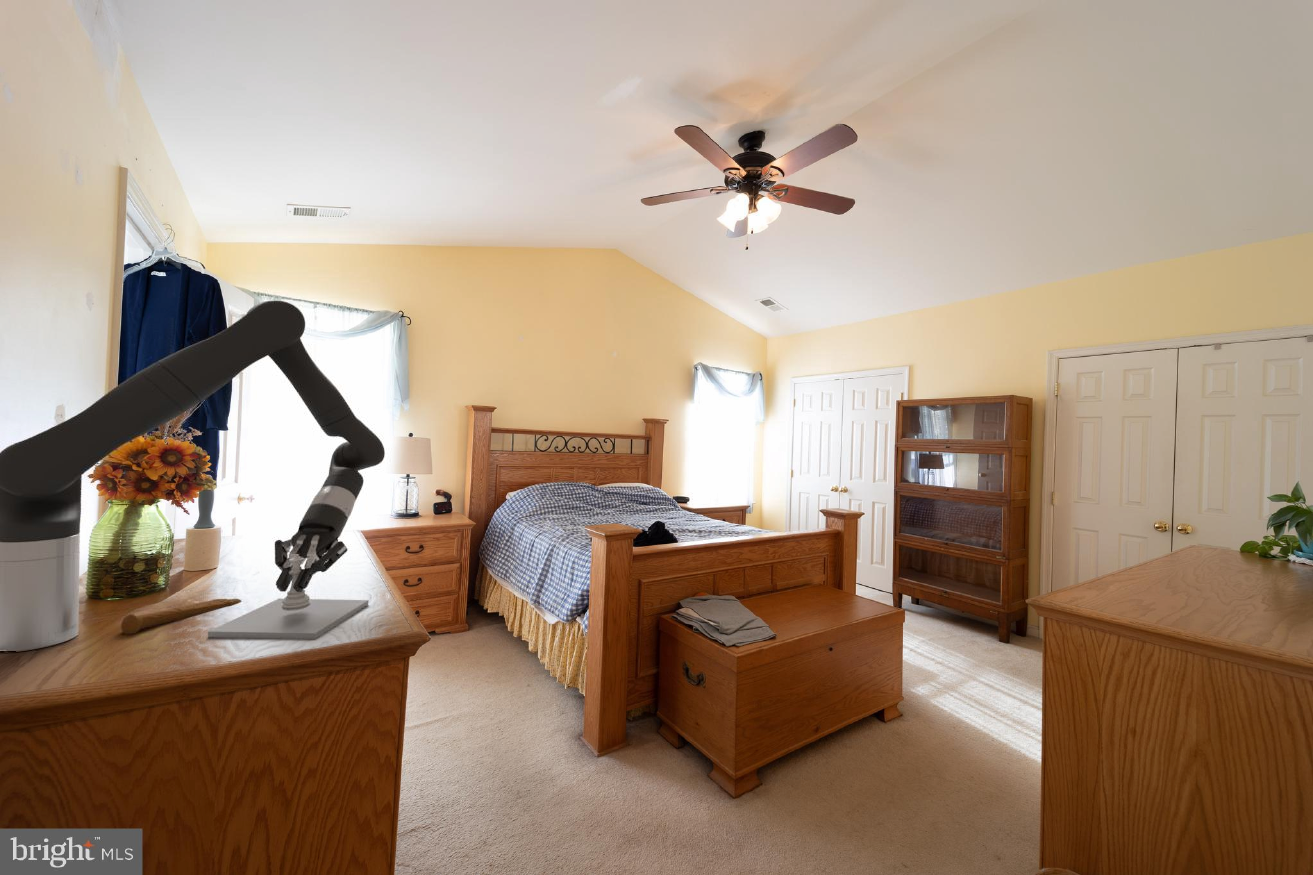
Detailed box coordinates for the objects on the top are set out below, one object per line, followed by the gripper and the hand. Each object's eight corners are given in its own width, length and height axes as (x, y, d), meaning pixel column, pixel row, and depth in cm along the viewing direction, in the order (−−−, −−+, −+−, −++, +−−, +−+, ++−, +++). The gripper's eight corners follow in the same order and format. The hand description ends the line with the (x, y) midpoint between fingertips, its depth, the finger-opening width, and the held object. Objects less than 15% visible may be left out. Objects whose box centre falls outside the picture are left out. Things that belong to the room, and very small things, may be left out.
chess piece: (275, 609, 100) (276, 555, 99) (298, 601, 104) (299, 550, 104) (293, 612, 98) (293, 557, 98) (315, 605, 102) (316, 552, 102)
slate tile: (207, 637, 92) (207, 631, 92) (279, 603, 110) (279, 598, 110) (314, 639, 92) (315, 633, 92) (368, 604, 110) (368, 600, 110)
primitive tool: (221, 601, 111) (221, 584, 111) (244, 603, 111) (245, 586, 110) (115, 635, 92) (116, 615, 92) (142, 638, 92) (143, 618, 91)
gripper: (286, 501, 108) (239, 578, 96) (356, 502, 108) (318, 580, 96) (302, 522, 113) (260, 598, 101) (369, 524, 114) (335, 600, 102)
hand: (289, 589), depth 99 cm, fingers closed on chess piece, 2 cm apart
